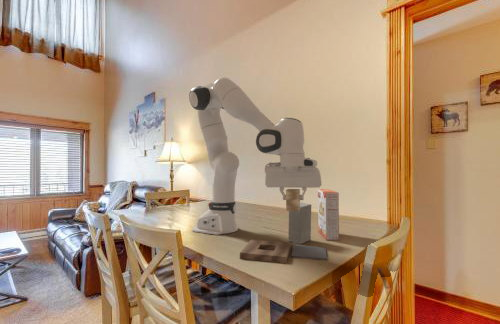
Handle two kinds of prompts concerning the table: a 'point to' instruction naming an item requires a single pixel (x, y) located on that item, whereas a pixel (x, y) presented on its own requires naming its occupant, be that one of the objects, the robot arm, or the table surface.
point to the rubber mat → (309, 252)
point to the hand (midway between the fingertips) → (293, 199)
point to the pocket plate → (266, 251)
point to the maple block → (292, 200)
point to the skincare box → (300, 224)
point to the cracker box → (328, 214)
